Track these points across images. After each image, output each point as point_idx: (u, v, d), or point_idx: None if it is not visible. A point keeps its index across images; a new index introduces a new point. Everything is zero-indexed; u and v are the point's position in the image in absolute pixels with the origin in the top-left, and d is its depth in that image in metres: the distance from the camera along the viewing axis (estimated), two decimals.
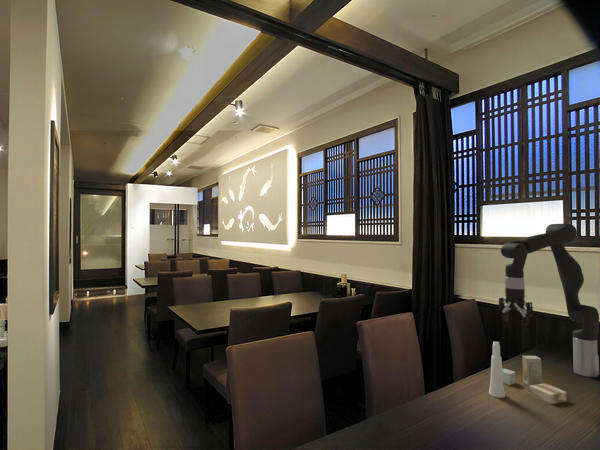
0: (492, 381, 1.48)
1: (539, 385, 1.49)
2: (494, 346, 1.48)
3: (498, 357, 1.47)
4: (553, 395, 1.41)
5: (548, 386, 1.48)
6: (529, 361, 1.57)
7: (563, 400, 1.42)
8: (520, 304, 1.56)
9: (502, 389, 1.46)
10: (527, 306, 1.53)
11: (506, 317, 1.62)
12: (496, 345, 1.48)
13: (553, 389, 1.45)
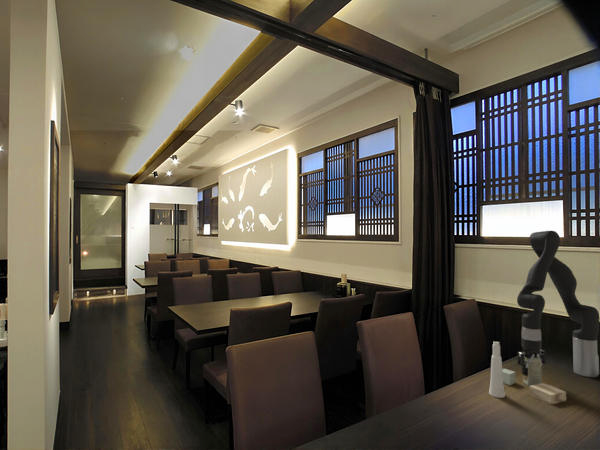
0: (492, 381, 1.48)
1: (539, 385, 1.49)
2: (494, 346, 1.48)
3: (498, 357, 1.47)
4: (554, 395, 1.41)
5: (548, 386, 1.48)
6: None
7: (563, 400, 1.43)
8: (539, 354, 1.59)
9: (502, 389, 1.46)
10: (544, 354, 1.60)
11: None
12: (496, 345, 1.48)
13: (553, 389, 1.45)
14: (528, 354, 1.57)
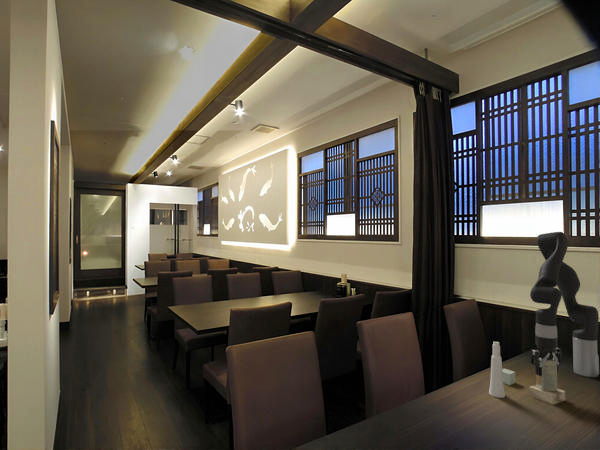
0: (492, 381, 1.48)
1: None
2: (494, 346, 1.48)
3: (498, 357, 1.47)
4: (555, 395, 1.41)
5: None
6: (544, 364, 1.44)
7: (563, 400, 1.43)
8: (554, 352, 1.46)
9: (502, 389, 1.46)
10: (560, 352, 1.47)
11: None
12: (496, 345, 1.48)
13: None
14: (543, 352, 1.44)
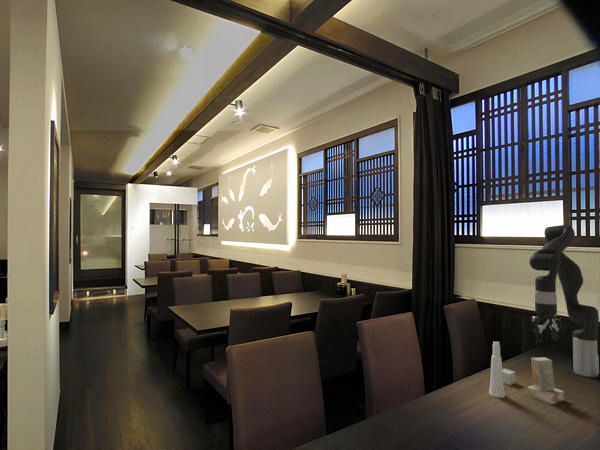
0: (492, 381, 1.48)
1: None
2: (494, 346, 1.48)
3: (498, 357, 1.47)
4: (553, 395, 1.41)
5: None
6: (540, 363, 1.44)
7: (561, 399, 1.43)
8: (554, 319, 1.46)
9: (502, 389, 1.46)
10: (560, 319, 1.47)
11: None
12: (496, 345, 1.48)
13: None
14: (543, 319, 1.45)
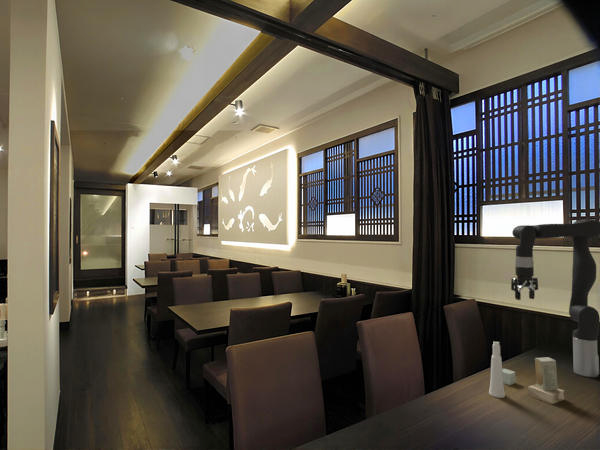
0: (492, 381, 1.48)
1: None
2: (494, 346, 1.48)
3: (498, 357, 1.47)
4: (554, 395, 1.41)
5: None
6: (544, 364, 1.44)
7: (561, 399, 1.44)
8: (531, 280, 1.72)
9: (502, 389, 1.46)
10: (536, 281, 1.73)
11: None
12: (496, 345, 1.48)
13: None
14: (521, 280, 1.70)
